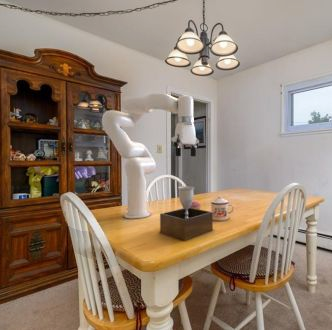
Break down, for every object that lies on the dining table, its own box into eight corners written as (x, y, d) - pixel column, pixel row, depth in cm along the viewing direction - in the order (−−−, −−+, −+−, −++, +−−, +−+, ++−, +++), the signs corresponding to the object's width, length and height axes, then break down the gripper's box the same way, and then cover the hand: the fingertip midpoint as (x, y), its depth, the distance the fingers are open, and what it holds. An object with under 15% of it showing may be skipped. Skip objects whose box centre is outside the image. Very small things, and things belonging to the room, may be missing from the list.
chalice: (190, 232, 91) (190, 188, 91) (175, 231, 93) (175, 188, 92) (197, 226, 98) (197, 186, 98) (182, 225, 100) (182, 185, 99)
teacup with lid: (211, 221, 111) (211, 198, 110) (210, 216, 120) (210, 194, 119) (235, 220, 112) (235, 197, 112) (232, 215, 121) (232, 194, 121)
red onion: (191, 217, 118) (191, 194, 117) (181, 214, 123) (181, 193, 123) (203, 214, 124) (203, 193, 124) (194, 211, 130) (194, 191, 129)
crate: (160, 232, 94) (160, 213, 94) (188, 223, 106) (188, 207, 106) (184, 240, 85) (184, 220, 84) (212, 230, 97) (212, 212, 97)
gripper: (193, 124, 120) (193, 156, 120) (166, 120, 106) (166, 156, 106) (203, 123, 115) (203, 156, 116) (176, 118, 101) (176, 156, 102)
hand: (186, 156), depth 111 cm, fingers open, 9 cm apart
